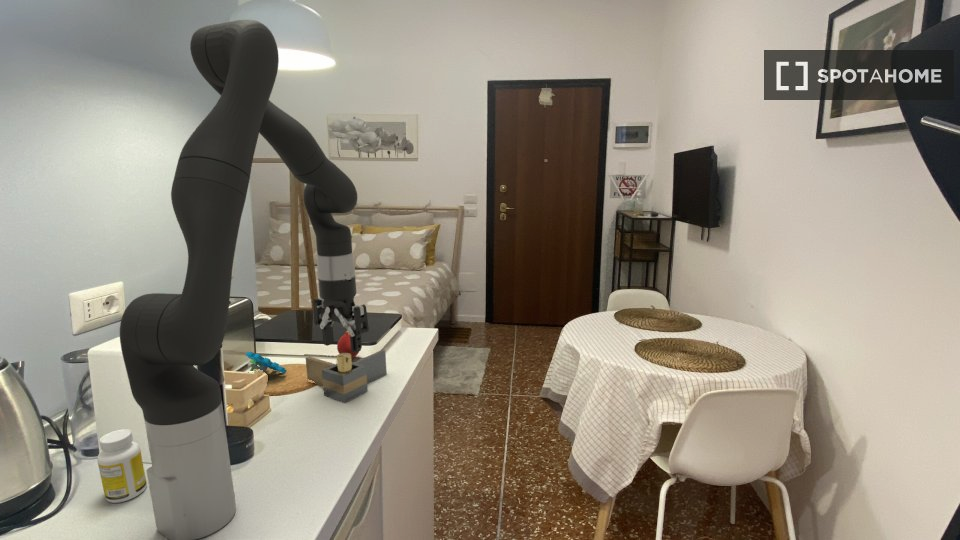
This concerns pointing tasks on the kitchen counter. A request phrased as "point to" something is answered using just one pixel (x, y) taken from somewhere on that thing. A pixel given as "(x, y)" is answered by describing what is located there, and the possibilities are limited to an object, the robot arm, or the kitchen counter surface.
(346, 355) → the hinge pin
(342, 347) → the onion
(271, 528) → the kitchen counter surface
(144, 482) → the supplement bottle
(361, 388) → the hinge
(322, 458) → the kitchen counter surface
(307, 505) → the kitchen counter surface
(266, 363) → the blue fuzzy lump
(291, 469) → the kitchen counter surface
